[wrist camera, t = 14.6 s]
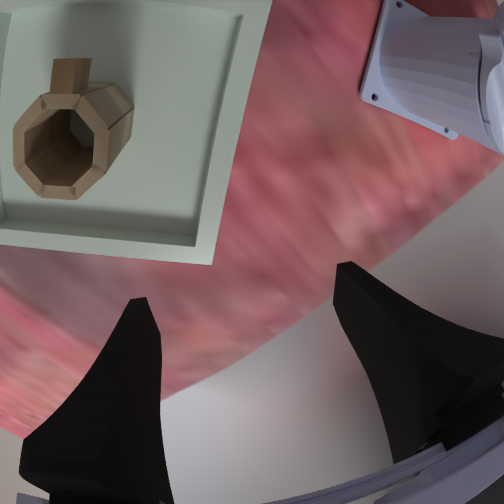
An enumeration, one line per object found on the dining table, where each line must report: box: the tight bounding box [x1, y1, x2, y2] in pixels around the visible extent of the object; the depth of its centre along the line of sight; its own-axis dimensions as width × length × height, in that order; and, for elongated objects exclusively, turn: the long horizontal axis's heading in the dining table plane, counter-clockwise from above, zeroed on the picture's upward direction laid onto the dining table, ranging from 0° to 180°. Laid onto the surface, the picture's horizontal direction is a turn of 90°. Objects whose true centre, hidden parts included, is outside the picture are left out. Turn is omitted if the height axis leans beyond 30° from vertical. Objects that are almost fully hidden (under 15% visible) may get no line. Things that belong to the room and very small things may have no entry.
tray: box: [0, 0, 273, 265], centre depth 15 cm, size 16×16×2 cm
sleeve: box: [13, 58, 135, 200], centre depth 12 cm, size 4×6×6 cm
